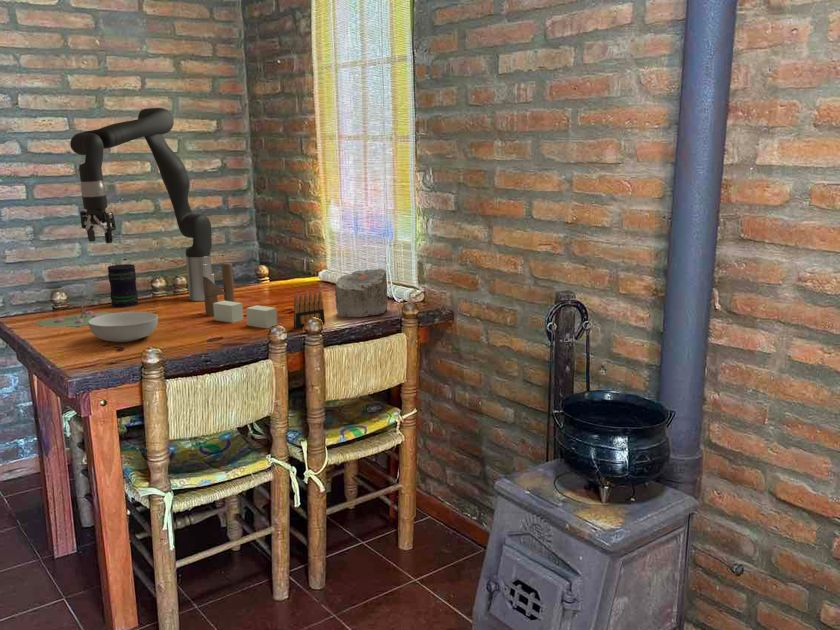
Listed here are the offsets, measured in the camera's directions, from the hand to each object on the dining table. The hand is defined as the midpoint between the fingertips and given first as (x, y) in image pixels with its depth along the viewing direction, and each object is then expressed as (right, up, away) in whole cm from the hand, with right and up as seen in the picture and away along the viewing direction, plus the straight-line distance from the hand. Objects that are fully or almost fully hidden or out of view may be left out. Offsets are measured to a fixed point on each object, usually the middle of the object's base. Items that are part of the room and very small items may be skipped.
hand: (100, 242), depth 270 cm
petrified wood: (+88, -24, +15) cm, 92 cm away
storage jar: (-5, -21, +35) cm, 41 cm away
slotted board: (+48, -27, +3) cm, 56 cm away
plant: (-14, -27, +11) cm, 33 cm away
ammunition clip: (+71, -28, -2) cm, 77 cm away
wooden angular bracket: (+37, -24, +18) cm, 48 cm away
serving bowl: (+14, -33, -16) cm, 39 cm away
